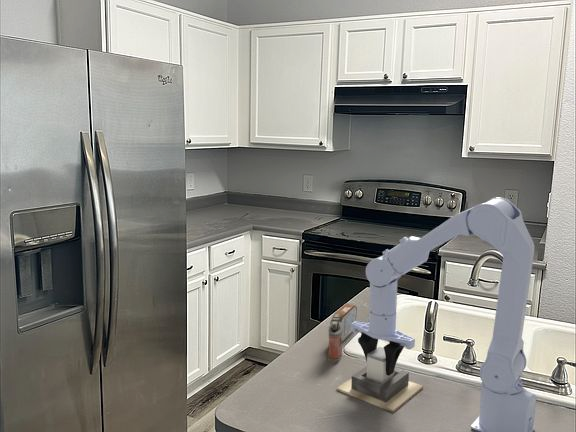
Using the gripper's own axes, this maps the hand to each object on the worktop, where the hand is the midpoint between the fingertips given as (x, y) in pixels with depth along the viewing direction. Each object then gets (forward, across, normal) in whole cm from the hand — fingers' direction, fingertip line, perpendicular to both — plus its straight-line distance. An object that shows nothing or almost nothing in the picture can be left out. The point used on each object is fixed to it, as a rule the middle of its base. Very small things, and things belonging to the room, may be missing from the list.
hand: (380, 370), depth 117 cm
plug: (+2, 0, 0) cm, 2 cm away
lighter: (+5, +17, -7) cm, 19 cm away
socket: (+4, 0, 0) cm, 4 cm away
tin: (+5, +22, -18) cm, 28 cm away
